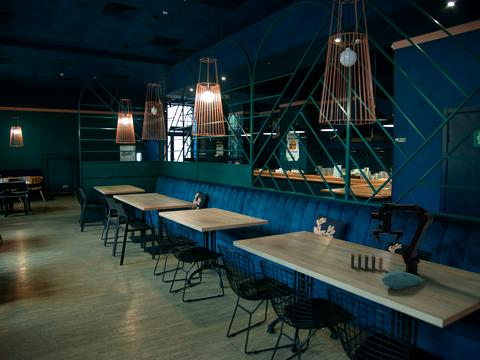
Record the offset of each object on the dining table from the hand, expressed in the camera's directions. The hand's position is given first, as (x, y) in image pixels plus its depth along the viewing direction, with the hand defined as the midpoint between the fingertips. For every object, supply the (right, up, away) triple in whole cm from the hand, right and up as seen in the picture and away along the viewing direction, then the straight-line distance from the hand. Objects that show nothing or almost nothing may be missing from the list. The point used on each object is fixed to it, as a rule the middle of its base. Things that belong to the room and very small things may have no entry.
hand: (386, 246), depth 234 cm
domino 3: (-15, -13, -4) cm, 20 cm away
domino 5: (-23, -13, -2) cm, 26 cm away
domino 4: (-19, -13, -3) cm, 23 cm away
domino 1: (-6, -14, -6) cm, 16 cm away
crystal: (-5, -16, -35) cm, 39 cm away
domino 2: (-11, -14, -5) cm, 18 cm away
